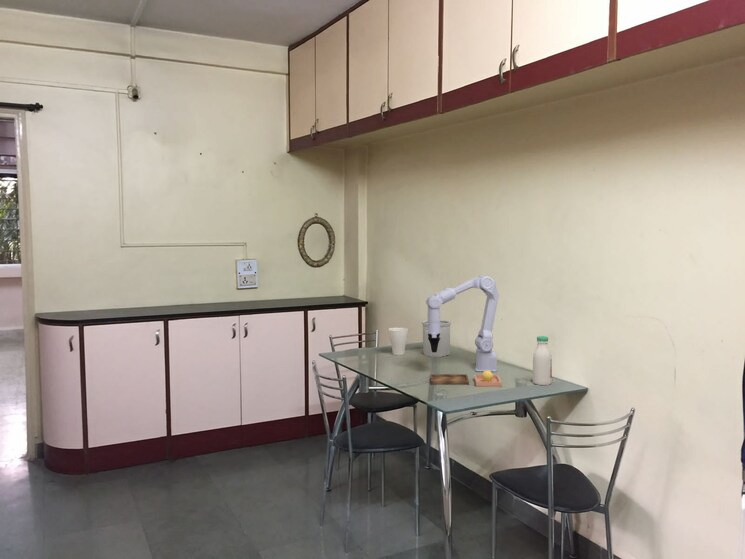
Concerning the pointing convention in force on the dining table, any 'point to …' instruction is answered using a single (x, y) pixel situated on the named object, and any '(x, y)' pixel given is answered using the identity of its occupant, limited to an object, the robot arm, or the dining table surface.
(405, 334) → the cup
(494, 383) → the dish
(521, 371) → the dining table surface
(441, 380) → the tray
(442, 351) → the utensil holder
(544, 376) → the milk bottle
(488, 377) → the ball
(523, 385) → the dining table surface
